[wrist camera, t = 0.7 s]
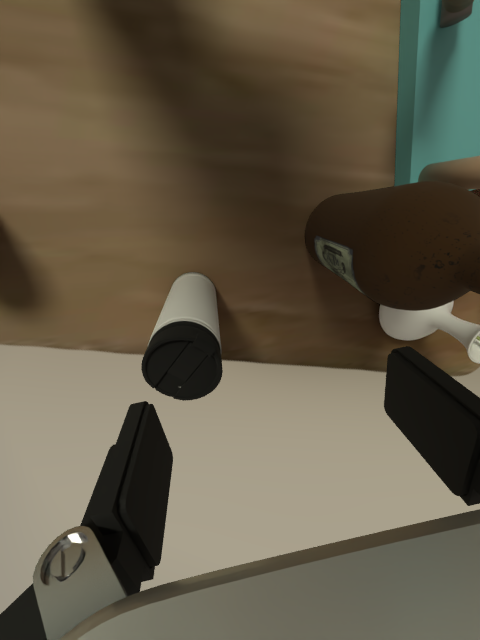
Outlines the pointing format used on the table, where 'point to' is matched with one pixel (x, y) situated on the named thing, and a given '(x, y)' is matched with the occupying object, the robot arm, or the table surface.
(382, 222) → the olive oil
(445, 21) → the hinged leg
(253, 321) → the table surface
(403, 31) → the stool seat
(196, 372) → the travel mug
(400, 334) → the flower in vase
